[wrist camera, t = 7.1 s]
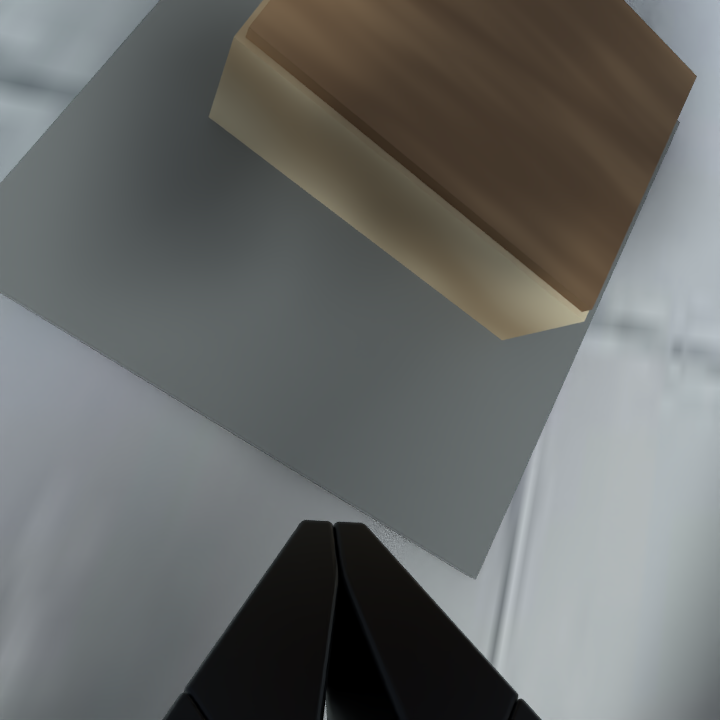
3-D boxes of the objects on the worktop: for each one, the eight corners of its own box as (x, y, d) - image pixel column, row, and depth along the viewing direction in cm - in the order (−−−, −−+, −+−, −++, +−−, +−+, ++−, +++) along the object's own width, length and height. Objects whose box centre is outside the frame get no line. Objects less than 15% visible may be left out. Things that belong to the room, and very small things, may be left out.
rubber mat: (469, 576, 20) (476, 579, 20) (-58, 257, 15) (-62, 253, 15) (671, 126, 26) (679, 122, 26) (341, -202, 22) (345, -212, 21)
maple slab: (594, 318, 17) (702, 76, 20) (237, 26, 14) (427, -212, 17) (502, 340, 21) (603, 135, 24) (208, 117, 18) (366, -88, 21)
